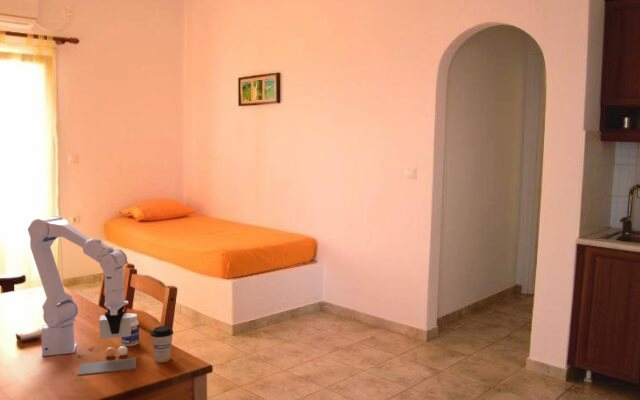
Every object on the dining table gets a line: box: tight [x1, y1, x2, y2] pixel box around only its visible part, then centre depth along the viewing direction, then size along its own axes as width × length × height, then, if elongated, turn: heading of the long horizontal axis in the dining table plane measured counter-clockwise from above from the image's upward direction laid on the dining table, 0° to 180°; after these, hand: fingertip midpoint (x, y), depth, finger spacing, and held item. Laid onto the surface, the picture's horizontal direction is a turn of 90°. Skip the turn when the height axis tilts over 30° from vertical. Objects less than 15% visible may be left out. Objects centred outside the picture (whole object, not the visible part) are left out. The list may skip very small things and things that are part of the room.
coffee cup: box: [150, 325, 174, 363], centre depth 169 cm, size 7×7×10 cm
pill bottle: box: [120, 313, 140, 347], centre depth 182 cm, size 6×6×10 cm
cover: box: [99, 312, 131, 340], centre depth 171 cm, size 9×5×6 cm, turn 108°
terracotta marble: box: [104, 346, 116, 358], centre depth 171 cm, size 3×3×3 cm
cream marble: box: [117, 345, 128, 357], centre depth 172 cm, size 3×3×3 cm
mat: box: [77, 357, 137, 377], centre depth 163 cm, size 16×8×1 cm, turn 108°
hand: (115, 330), depth 171 cm, fingers closed on cover, 5 cm apart
